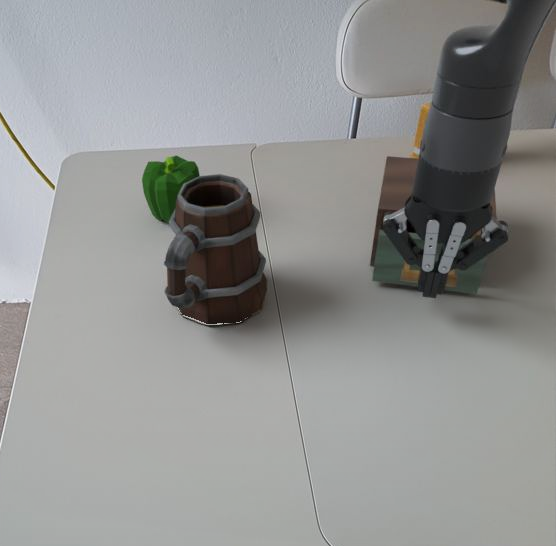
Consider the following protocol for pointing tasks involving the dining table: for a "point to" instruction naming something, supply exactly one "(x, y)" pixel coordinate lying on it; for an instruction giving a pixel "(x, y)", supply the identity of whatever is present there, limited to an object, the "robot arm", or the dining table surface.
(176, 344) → the dining table surface
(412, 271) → the drawer
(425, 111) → the supplement box
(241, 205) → the mug
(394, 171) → the cabinet
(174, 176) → the bell pepper
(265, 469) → the dining table surface
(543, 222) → the dining table surface
